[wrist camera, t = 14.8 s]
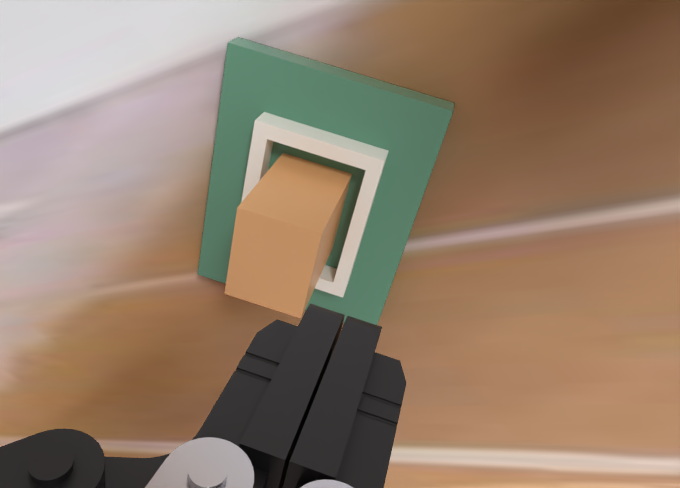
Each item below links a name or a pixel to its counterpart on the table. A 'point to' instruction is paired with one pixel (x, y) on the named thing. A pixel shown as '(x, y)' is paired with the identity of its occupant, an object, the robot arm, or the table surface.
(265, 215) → the tan rectangular block
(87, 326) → the table surface
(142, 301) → the table surface
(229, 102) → the board
